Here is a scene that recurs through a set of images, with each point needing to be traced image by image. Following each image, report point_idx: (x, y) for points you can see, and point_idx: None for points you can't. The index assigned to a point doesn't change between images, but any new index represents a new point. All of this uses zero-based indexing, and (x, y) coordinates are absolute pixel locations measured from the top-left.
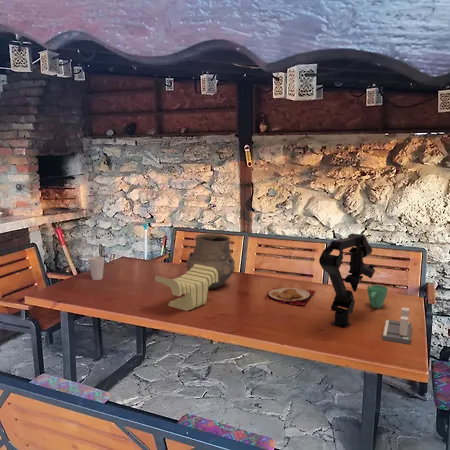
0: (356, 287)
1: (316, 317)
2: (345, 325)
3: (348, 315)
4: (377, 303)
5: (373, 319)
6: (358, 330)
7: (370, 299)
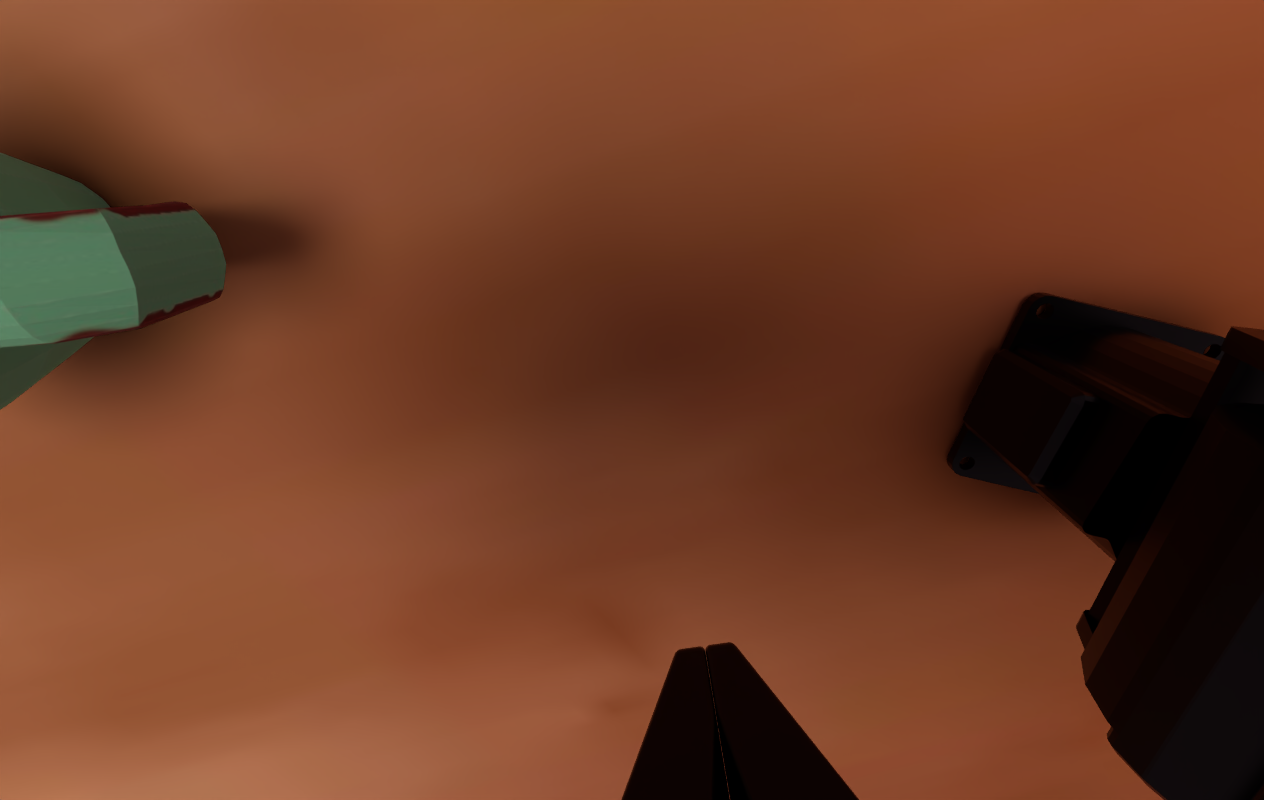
0: (835, 779)
1: (949, 686)
2: (1163, 336)
3: (1103, 382)
4: (58, 210)
5: (624, 81)
6: (1246, 112)
7: (194, 297)
